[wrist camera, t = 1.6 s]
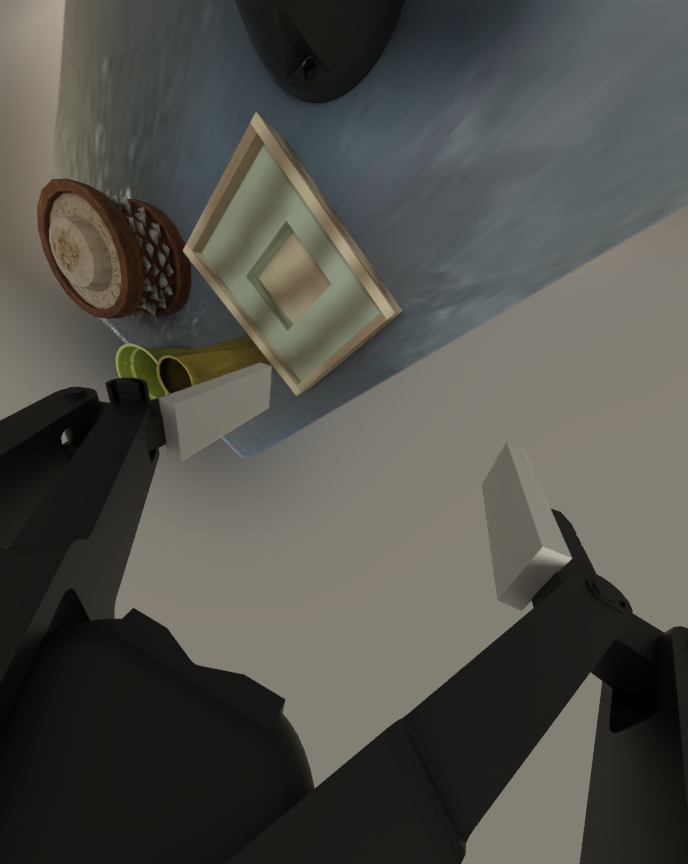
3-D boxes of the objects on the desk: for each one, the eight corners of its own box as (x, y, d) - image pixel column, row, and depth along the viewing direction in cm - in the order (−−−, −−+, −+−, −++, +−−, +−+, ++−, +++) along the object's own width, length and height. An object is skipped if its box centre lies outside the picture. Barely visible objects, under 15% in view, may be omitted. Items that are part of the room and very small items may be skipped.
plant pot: (167, 326, 46) (112, 332, 38) (214, 351, 45) (166, 361, 37) (167, 377, 51) (118, 390, 43) (209, 400, 49) (166, 418, 42)
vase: (263, 331, 40) (181, 345, 28) (277, 372, 42) (205, 403, 30) (232, 339, 43) (143, 356, 30) (246, 378, 45) (168, 409, 33)
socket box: (213, 256, 38) (182, 250, 34) (284, 137, 30) (256, 111, 26) (312, 385, 41) (296, 396, 37) (402, 311, 33) (394, 313, 29)
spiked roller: (131, 246, 29) (102, 346, 37) (209, 258, 39) (172, 336, 46) (23, 129, 28) (16, 258, 36) (130, 171, 37) (106, 266, 45)
